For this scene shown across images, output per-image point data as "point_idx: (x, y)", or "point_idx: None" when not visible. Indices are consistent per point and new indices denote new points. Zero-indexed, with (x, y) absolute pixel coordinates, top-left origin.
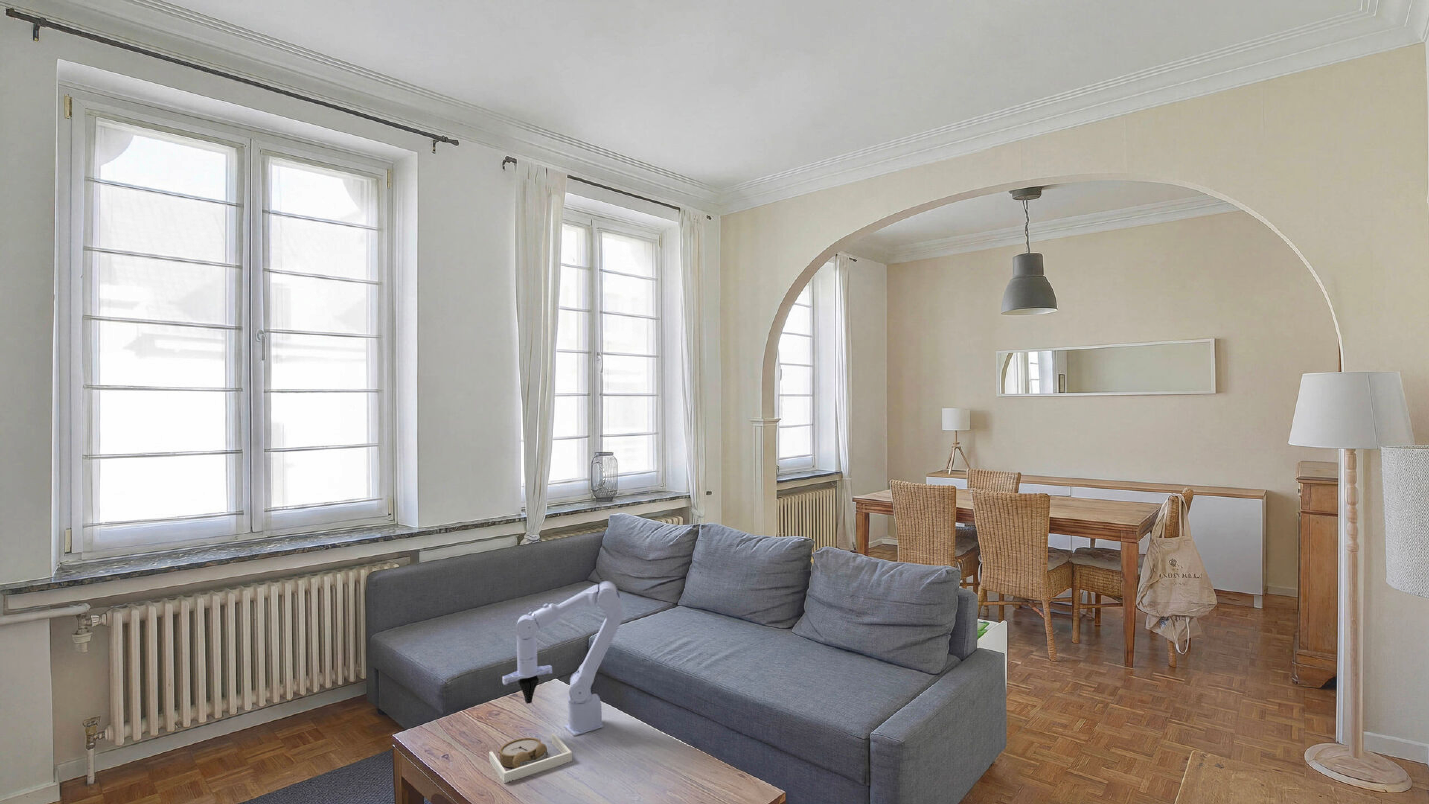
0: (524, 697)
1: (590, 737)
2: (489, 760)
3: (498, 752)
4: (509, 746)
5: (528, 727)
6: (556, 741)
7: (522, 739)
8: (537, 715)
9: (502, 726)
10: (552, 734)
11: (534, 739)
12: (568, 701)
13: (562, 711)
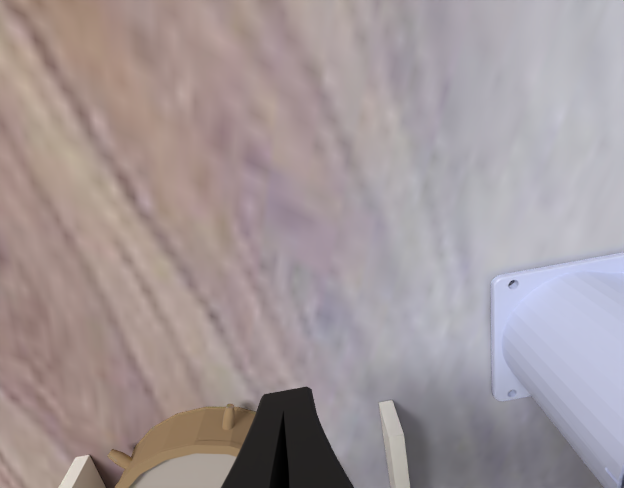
0: (252, 426)
1: (552, 424)
2: (74, 463)
3: (109, 455)
4: (159, 479)
5: (295, 190)
6: (393, 483)
7: (230, 453)
8: (388, 18)
9: (121, 89)
10: (392, 449)
11: None
12: (619, 464)
13: (567, 42)
